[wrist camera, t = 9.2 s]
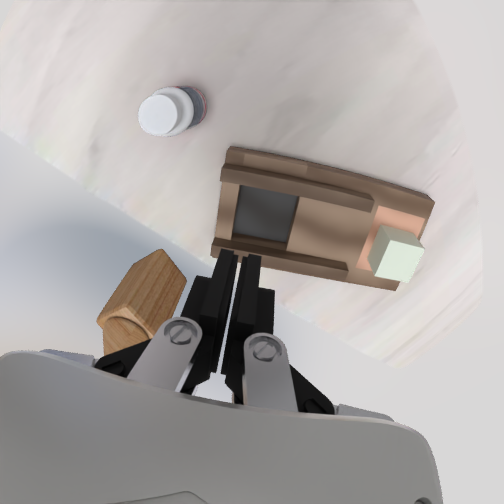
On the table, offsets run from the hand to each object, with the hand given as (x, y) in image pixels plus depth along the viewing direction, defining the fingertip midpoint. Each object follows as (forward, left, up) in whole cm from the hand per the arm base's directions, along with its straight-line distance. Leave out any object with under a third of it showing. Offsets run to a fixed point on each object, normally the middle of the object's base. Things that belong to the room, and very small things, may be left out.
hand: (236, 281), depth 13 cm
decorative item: (+20, -12, -25) cm, 34 cm away
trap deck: (+7, +9, -25) cm, 28 cm away
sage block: (+7, +18, -23) cm, 30 cm away
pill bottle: (-4, -10, -25) cm, 27 cm away
